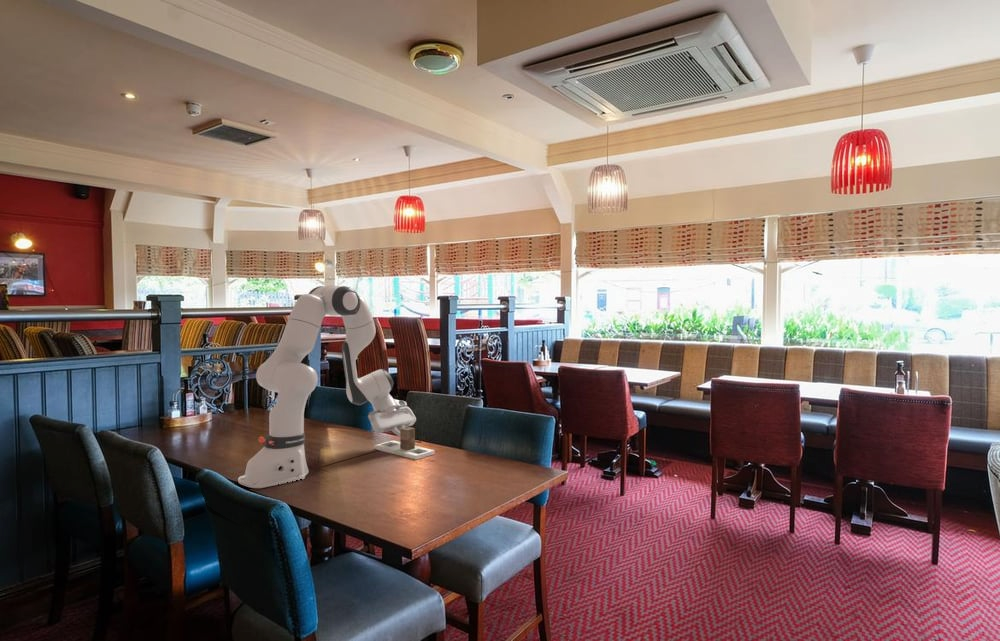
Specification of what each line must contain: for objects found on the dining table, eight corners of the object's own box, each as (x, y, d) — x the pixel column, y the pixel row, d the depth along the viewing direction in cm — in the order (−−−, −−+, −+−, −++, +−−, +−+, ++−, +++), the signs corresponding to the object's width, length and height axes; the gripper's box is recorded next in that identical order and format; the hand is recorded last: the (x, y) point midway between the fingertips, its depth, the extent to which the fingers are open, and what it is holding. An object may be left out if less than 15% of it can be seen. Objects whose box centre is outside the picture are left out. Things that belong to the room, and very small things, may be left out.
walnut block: (407, 450, 218) (407, 430, 218) (400, 448, 220) (400, 428, 220) (414, 448, 221) (414, 428, 221) (407, 446, 224) (407, 426, 223)
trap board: (416, 459, 211) (416, 455, 211) (374, 448, 225) (374, 445, 225) (434, 454, 219) (434, 450, 219) (393, 443, 233) (393, 440, 233)
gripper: (369, 408, 218) (386, 436, 212) (408, 400, 234) (425, 427, 229) (362, 417, 221) (378, 446, 215) (401, 410, 237) (417, 436, 232)
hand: (402, 436), depth 222 cm, fingers closed
